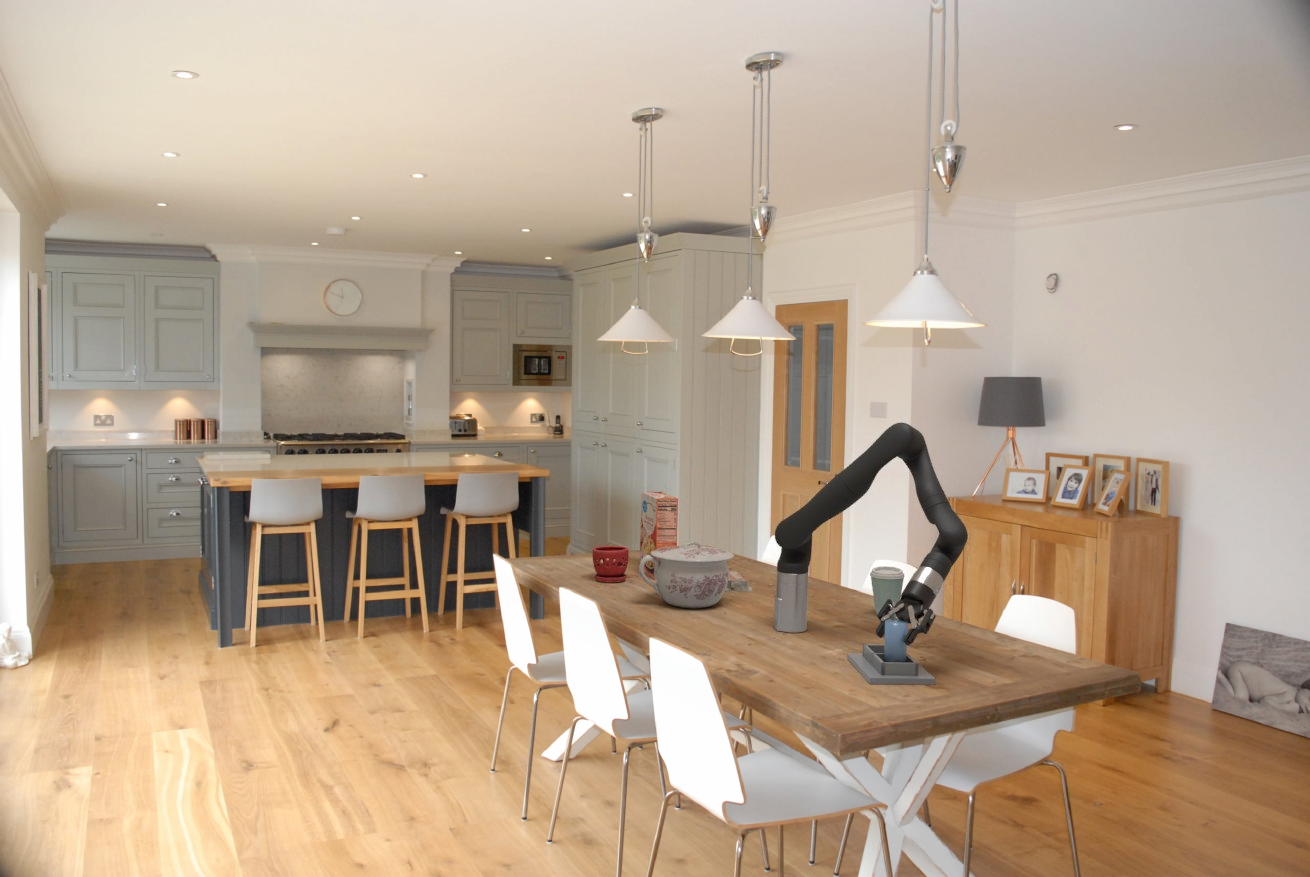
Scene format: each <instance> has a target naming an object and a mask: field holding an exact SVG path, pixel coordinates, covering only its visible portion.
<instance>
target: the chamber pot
mask: <svg viewBox="0 0 1310 877" xmlns="http://www.w3.org/2000/svg"><path fill="white" fill-rule="evenodd" d="M651 555H652V556H653V557H652V556H650V555H646V556H644V557H643V558H642V559H641V561H640V560H639V562H638V569H637V570H638V573H639V576H640V578H641V579H642V580H643V581H644V582H645V583H646V584H648V586H650V587H652V588H653V589H654V590H655V591H656V593H657V594H658V595H659V596H660V597H661V598H662V599H663V601H664V602H665V603H667V604H669V605H671V606H673V607H677V608H682V609H689V610H690V609H691V610H692V609H697V608H698V609H704V608H709V607H712V606H714V605H716V604H717V603H718V602H719V601H720V600H721V598H722V597H723V595H724V593H726V592H725V591H726V589H727V585H728V581H729V572H730V571H731V570H730V568H729V567H728V564H727V561H730V560H732V559H734V557H735V554H733V552H730V551H728V550H725V549H722V548H718V547H712V546H707V545H705V546H704V545H701V544H700V542H699V541H695V540H693V541H688V542H686V543H685V544H684V545H683V544H682V545H677V546H669V547H663V548H659V549H655V550H653V551H652V552H651ZM655 557H656V558H658V560H657V559H656V558H655ZM648 561H651V562H654V576H655V580H654V582H653V581H651V580H649V578H648V577H647V576H646V573H645V572H644V565H645V562H648Z"/></svg>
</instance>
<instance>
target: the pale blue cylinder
mask: <svg viewBox="0 0 1310 877" xmlns="http://www.w3.org/2000/svg"><path fill="white" fill-rule="evenodd" d="M908 624H909V623H907V622H906V621H902V620H890V619H888V620H886V621H885V634H884V635H883V637H884V639H883V645H884V662H901V663H906V659H907V654H908V645H906V644H905V642H904V638H905V636H906V635H907V633H908V631H909V630H908V627H909V625H908Z"/></svg>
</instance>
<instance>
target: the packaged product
mask: <svg viewBox="0 0 1310 877" xmlns="http://www.w3.org/2000/svg"><path fill="white" fill-rule="evenodd" d="M726 591H752V592H753V588H752V587H751V585H749V584H748V580H747V579H746V577H744V576H743V575H742V574H741V573H740V572H738V571H736V570H730V572H729V581H728V585H727V589H726Z"/></svg>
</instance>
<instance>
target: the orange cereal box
mask: <svg viewBox="0 0 1310 877" xmlns="http://www.w3.org/2000/svg"><path fill="white" fill-rule="evenodd" d="M640 496H641V497H640V498H641V500H640V501H641V502H640V504H641V505H640V532H639V533H640V540H639V562H640V561H641V559H642V558H643V557H644V556H646V555H650V556H652V555H651V552H652V551H653V550H655V549H659V548H663V547H669V546H678V521H679V518H678V516H679V512H678V511H679V498H678V497H675V496H673V495H670V494H668V493H666V492H664V491H641V495H640ZM652 557H653V556H652ZM655 558H656V557H655ZM656 559H657V560H658V558H656ZM644 573H645V574H646V573H647V574H648V577H650V578H651V577H652V578H651V579H653V580H654V581H655V576H654V562H651V561H648V562H645V565H644ZM647 574H646V575H647Z"/></svg>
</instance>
